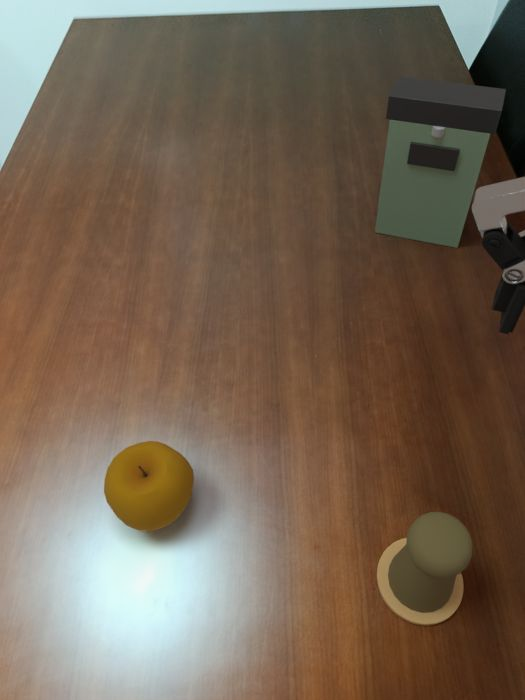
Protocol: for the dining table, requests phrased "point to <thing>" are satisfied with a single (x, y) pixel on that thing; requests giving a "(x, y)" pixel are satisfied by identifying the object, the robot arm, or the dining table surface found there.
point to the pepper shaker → (430, 562)
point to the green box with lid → (434, 157)
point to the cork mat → (402, 610)
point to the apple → (148, 485)
